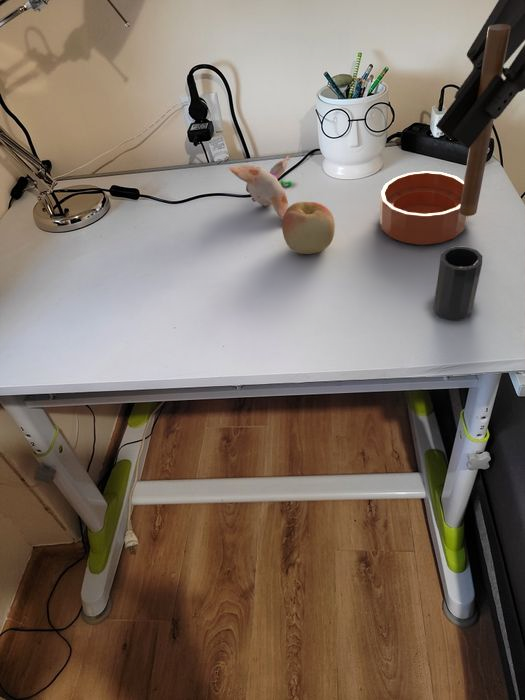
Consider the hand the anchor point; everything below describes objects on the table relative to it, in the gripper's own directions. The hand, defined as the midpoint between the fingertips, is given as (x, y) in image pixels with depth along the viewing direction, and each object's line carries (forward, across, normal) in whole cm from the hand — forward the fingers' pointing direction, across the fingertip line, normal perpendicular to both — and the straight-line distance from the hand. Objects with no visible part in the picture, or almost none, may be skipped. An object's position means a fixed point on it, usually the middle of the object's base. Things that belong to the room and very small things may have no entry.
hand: (452, 136), depth 55 cm
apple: (+23, +24, -14) cm, 36 cm away
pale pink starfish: (+23, +43, -14) cm, 51 cm away
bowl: (+9, +20, -28) cm, 35 cm away
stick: (+5, 0, -10) cm, 11 cm away
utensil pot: (+16, 0, -21) cm, 26 cm away
